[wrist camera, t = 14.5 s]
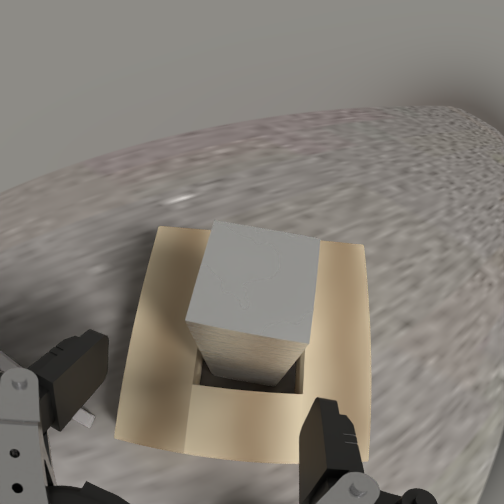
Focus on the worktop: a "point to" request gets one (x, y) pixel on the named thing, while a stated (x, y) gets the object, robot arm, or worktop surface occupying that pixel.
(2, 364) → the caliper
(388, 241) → the worktop surface
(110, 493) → the robot arm
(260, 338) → the square bit
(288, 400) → the socket block
